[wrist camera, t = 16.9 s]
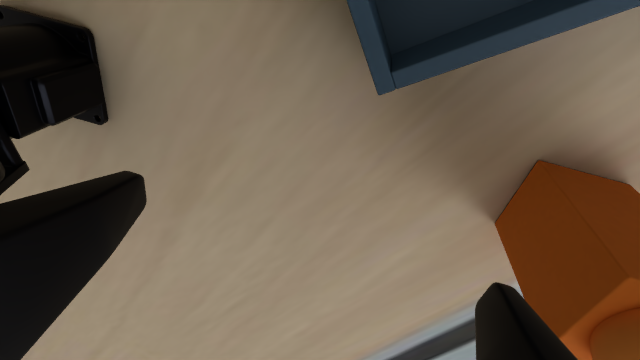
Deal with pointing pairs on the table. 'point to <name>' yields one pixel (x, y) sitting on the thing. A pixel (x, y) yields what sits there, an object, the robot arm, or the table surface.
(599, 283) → the toy bear
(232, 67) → the table surface
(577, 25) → the tray
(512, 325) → the robot arm
